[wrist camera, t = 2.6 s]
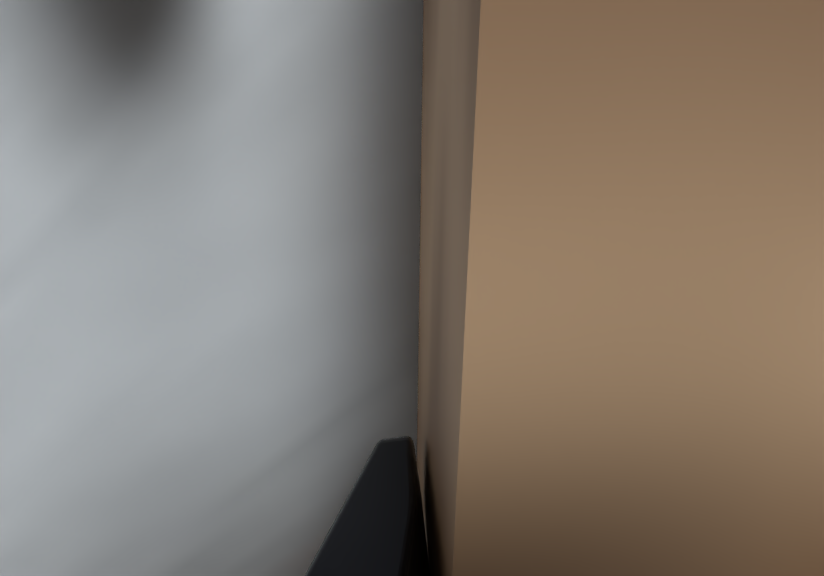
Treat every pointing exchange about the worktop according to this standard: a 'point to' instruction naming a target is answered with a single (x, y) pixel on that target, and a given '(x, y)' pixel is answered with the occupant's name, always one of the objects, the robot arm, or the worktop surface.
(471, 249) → the slat
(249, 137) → the worktop surface
